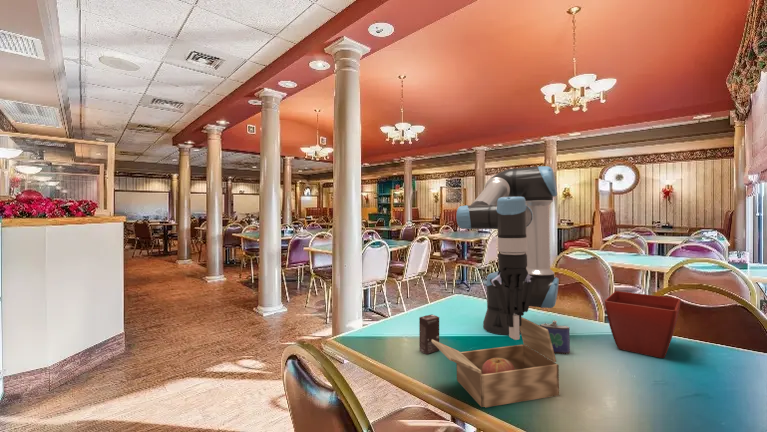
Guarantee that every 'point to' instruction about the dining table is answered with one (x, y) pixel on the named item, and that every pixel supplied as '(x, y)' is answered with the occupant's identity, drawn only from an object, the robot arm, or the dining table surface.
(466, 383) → the carton
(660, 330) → the plant pot
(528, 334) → the flap
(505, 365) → the apple
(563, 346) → the flask
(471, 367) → the flap
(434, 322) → the box
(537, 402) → the dining table surface
